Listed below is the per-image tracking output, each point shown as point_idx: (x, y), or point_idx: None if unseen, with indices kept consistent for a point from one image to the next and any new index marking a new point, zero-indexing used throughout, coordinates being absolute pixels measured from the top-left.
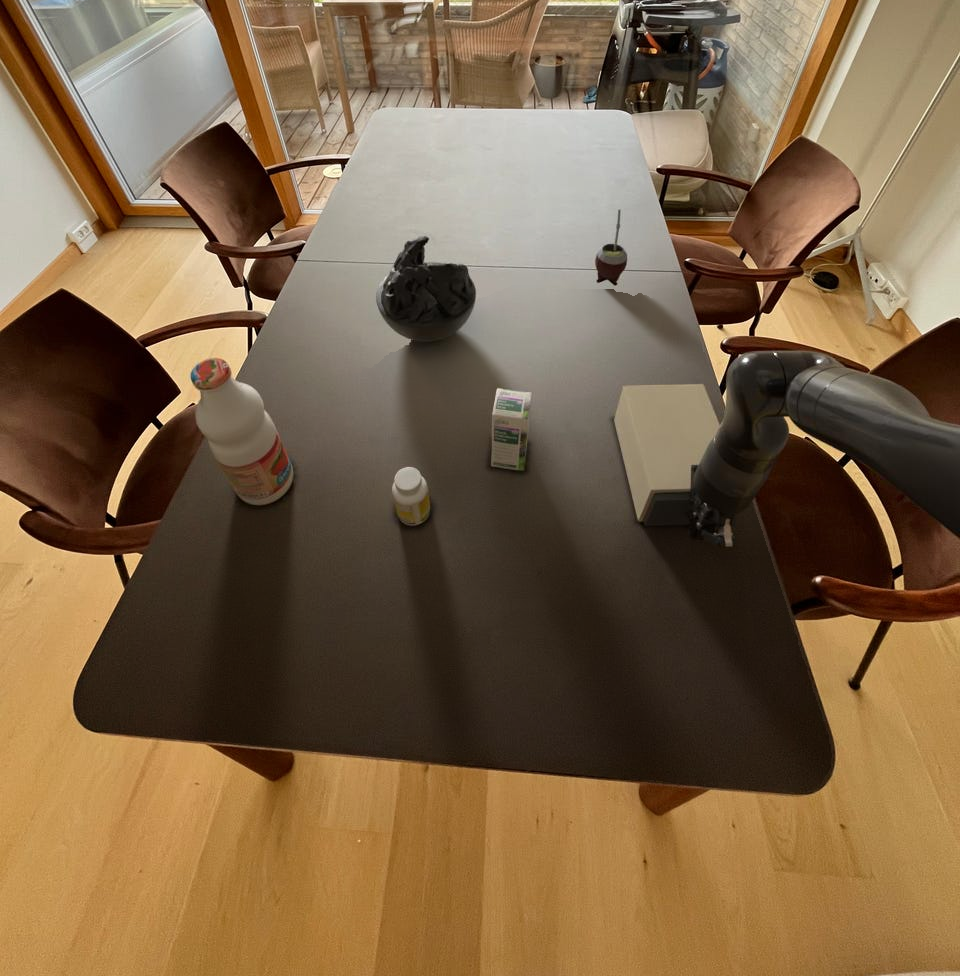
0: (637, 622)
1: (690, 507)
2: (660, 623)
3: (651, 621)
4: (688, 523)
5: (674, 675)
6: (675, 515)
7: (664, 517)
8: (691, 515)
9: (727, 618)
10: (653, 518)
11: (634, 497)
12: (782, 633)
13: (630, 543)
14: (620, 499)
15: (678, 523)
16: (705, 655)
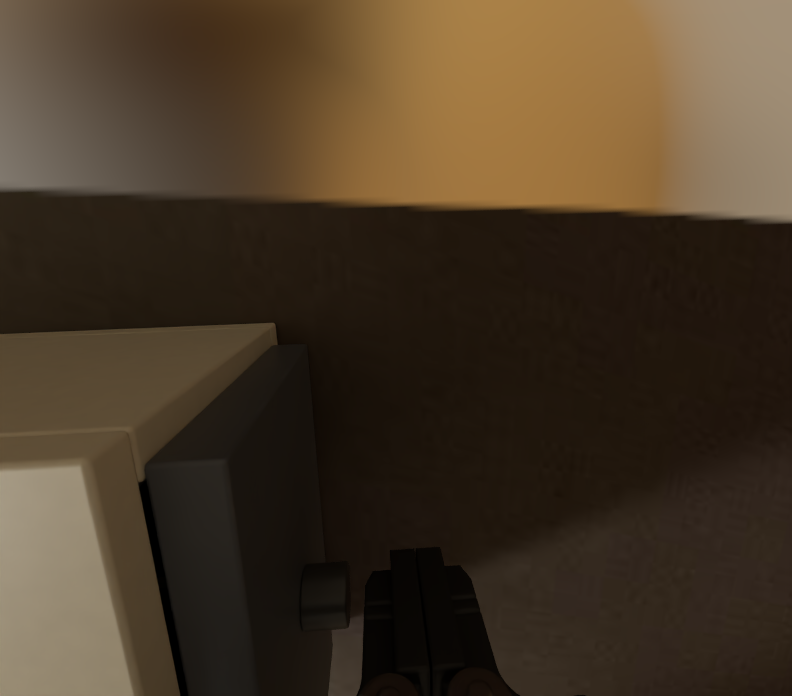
0: (631, 668)
1: (295, 671)
2: (643, 613)
3: (634, 634)
4: (319, 506)
5: (778, 597)
6: (315, 638)
7: (320, 659)
8: (332, 628)
9: (660, 416)
10: (325, 692)
11: None
12: (739, 235)
13: None
14: None
15: (322, 546)
16: (749, 509)
